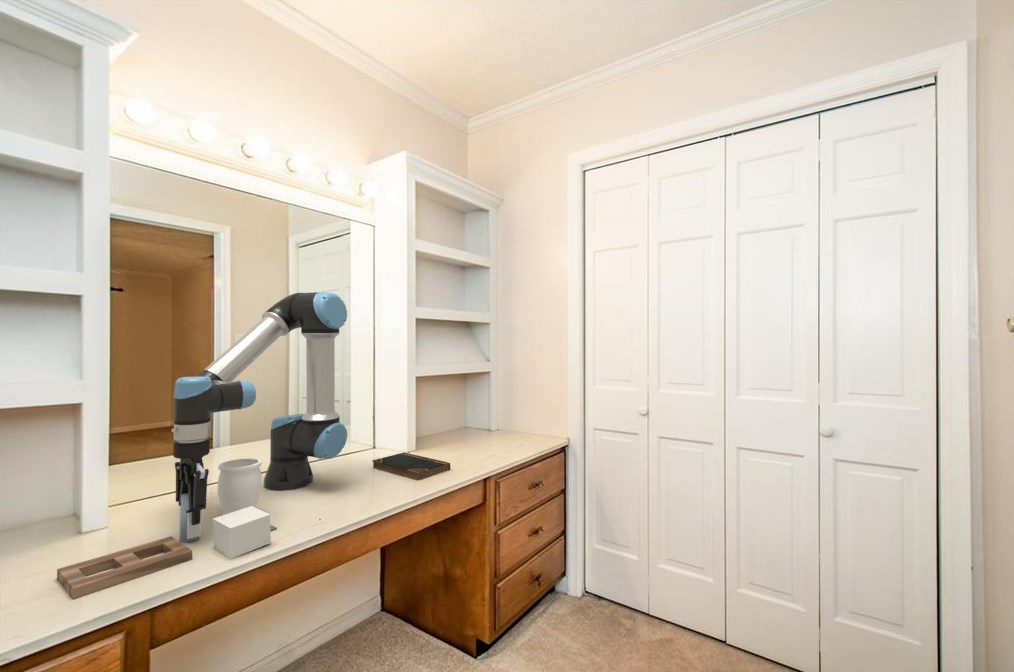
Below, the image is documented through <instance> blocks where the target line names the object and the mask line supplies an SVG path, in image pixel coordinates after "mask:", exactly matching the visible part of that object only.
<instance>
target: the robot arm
mask: <svg viewBox="0 0 1014 672" xmlns="http://www.w3.org/2000/svg"><path fill="white" fill-rule="evenodd" d="M347 319H348V309H347V306H346V304H345V302H344V300H343V299H342V298H341V297H340V296H339V295H338V294H336V293H334V292H325V291H318V292H295V293H292V294H289V295H287V296H286V297H284V298H282V299H280V300H279V301H278V302H276V303H275V304H273V305H271V307H269V308H268V309H267V310H266V311H264V312H263V313H262V315H261V319H260V321H259V322H257V323H256V324H255V325H254V326H253V327H252V328H250V329H249V330H248V331H247V332H246V333H245V334H244V335H242V336H241V337H240V338H239V339H238V340H236V341H235V342H234V343H233V344H232V345H231V346H229V347H228V348H227V349H226V350H225V351H224V352H223V353H221V354H220V355H219V356H218V357H217V358H216V359H215V360H213V361H212V362H211V363H210V364H209V365H208V366H206V367H205V368H204V369H203V370H202V371H201V372H200V373H198V375H196V376H183V377H180V378H177V379H176V380H175V385H174V390H173V391H174V392H173V399H174V400H173V428H172V429H171V433H173V440H174V442H173V443H172V445H173V446H172V447H173V448H172V456H173V458H175V459H178V460H179V461H177V462H175V463H174V468H175V469H174V470H175V502H176V503H178V506H179V517H180V516H181V495H182V494H184V493H189V510H186V513H187V539H190V538H194V537H197V536H202V535H201V534H202V533H201V531H202V528H201V527H202V510H205V509H206V508H207V494H208V493H207V492H208V491H207V490H208V478H209V472H210V471H209V468H206V469H205V466H204V462H203V458H204V457H206V456H207V455H209V454H210V453H211V451H210V450H211V440H210V439H209V438H210V437H211V430H212V429H211V419H212V418H211V416H212V414H213V413H220V412H227V411H235V410H242V409H243V410H244V409H246V408H249V407H252V406H253V405H254V403H255V402H256V399H257V390H256V389H257V388H256V387H255V385H254V384H253V383H252V382H251V381H248V380H235V379H236V378H237V377H238V376H239V375H240V374H242V372H244V371H245V370H246V369H247V368H248V367H249V366H250V365H252V363H253V362H254V361H256V359H257V358H259V357H260V356H261V355H262V354H263V353H264V352H265V351H266V350H267V349H268V348H269V347H271V346H272V344H273V343H275V342H276V341H277V340H278V339H279V338H280V337H284V336H287V335H289V333H290V332H292V331H293V330H295V329H300V332H301V333H300V334H301V335H302V336H303V337H304V338H305V340H306V343H305V344H306V348H305V350H306V352H305V353H306V354H305V356H306V361H305V362H306V365H305V366H306V368H305V369H306V412H305V413H301V414H292V415H291V414H289V415H284V416H283V415H282V416H279V417H275V418H273V419H272V421H271V424H270V456H269V458H270V460H269V461H270V462H269V464H268V467H267V469H266V471H265V472H266V473H265V475H264V479H263V487H264V488H265V489H268V490H273V491H287V490H295V489H299V488H303V487H307V486H309V485H310V484H312V483H313V482H314V474H313V470H312V468H311V465H310V461H309V457H312V458H317V459H320V460H321V459H323V460H324V459H325V460H327V459H328V460H329V459H333V458H335V457H337V456H338V455H339V454H340V453H341V452H342V450H343V449H344V448H345V445H346V444H347V440H348V431H347V430H348V429H347V428H346V427H345V425H344V424H343V423H341V421H340V420H341V419H340V414H339V413H338V412H337V411H336V410H335V409H336V405H335V402H336V399H335V397H336V396H335V391H336V390H335V389H336V388H335V387H336V386H335V382H336V381H335V374H336V373H335V367H336V366H335V358H336V356H335V354H336V353H335V349H336V348H335V345H336V344H335V339H336V338H337V337H338V336H339V335H340V328H342V327H343V326H344V325H345V322H347ZM178 527H179V529H178V530H179V531H178V534H179V535H180V521H179V525H178Z"/></svg>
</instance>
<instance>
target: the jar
mask: <svg viewBox="0 0 1014 672" xmlns="http://www.w3.org/2000/svg"><path fill="white" fill-rule="evenodd" d="M262 462H263V461H262V459H259V458H253V457H252V458H238V459H230V460H227V461H223V462H221V463H219V464H218V467H217V468H218V471H220V472H219V476H218V480H217V496H218V502H219V507H220V510H221V511H222V513H223V514H222V515H225V514H228V513H231V512H235V511H238V510H241V509H244V508H247V507H250V506H253V507H255V508H257V505H258V503H259V500H260V499H259V498H260V493H261V490H262V483H263V482H262V480H263V479H262V472H261V471H262V470H261V468H260V467H261V466H262V464H263V463H262Z"/></svg>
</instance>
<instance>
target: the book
mask: <svg viewBox="0 0 1014 672" xmlns="http://www.w3.org/2000/svg"><path fill="white" fill-rule="evenodd" d="M371 462H372V463H373V465H372V468H373V469H374V470H378V471H382V472H386V473H389V474H393V475H396V476H400V477H404V478H408V479H410V480H415V481H420V480H422V479H423V480H424V479H426V478H427V479H428V478H430V477H432V475H433V476H436V475H438V473H439V474H441V472H442V473H444V471H445V472H447V470H448V471H451V463H450V462H448V461H445V460H439V459H435V458H430V457H425V456H421V455H418V454H413V453H409V452H400V453H397V454H392V455H388V456H385V457H380V458H376V459H372V460H371ZM435 474H436V475H435Z"/></svg>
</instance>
